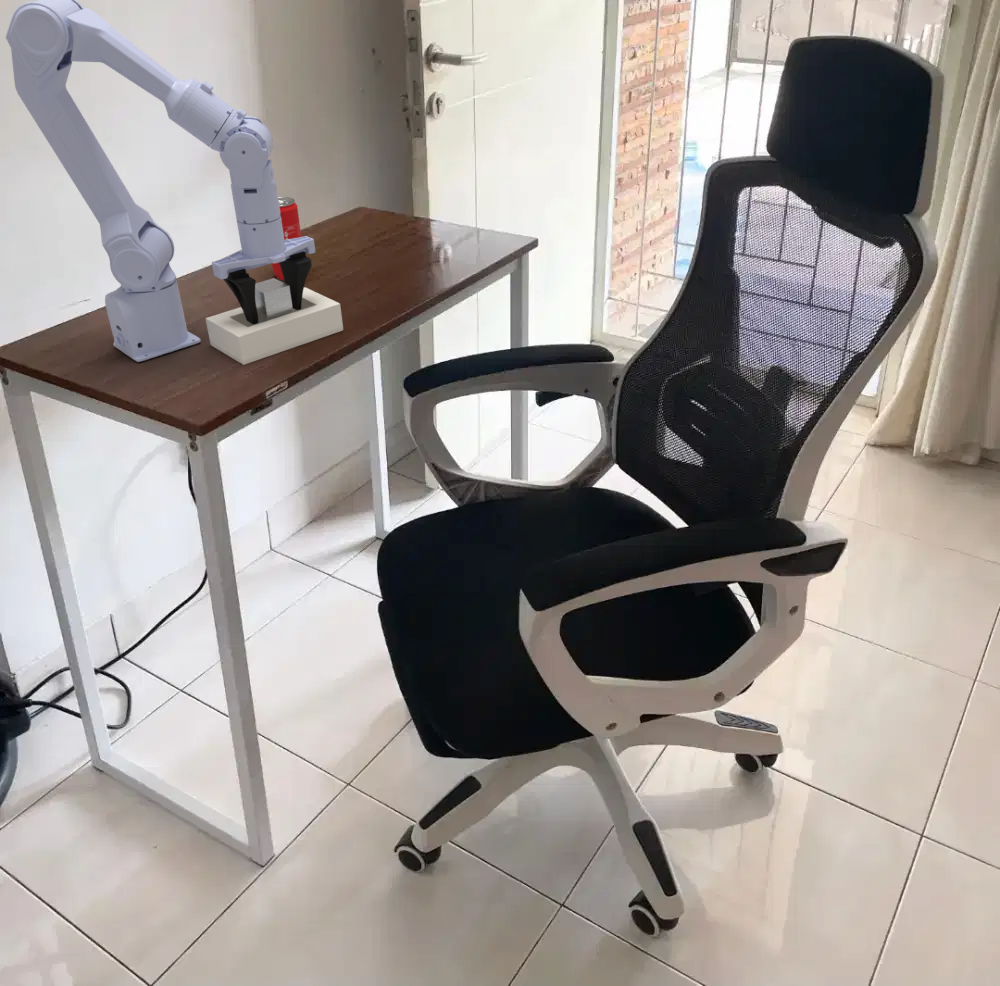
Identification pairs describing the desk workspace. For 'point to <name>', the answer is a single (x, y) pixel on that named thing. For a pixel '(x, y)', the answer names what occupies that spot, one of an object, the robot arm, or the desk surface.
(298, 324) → the cream rectangular tray
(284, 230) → the beverage can
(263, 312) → the grey rectangular block
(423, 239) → the desk surface
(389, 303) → the desk surface
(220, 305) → the desk surface
